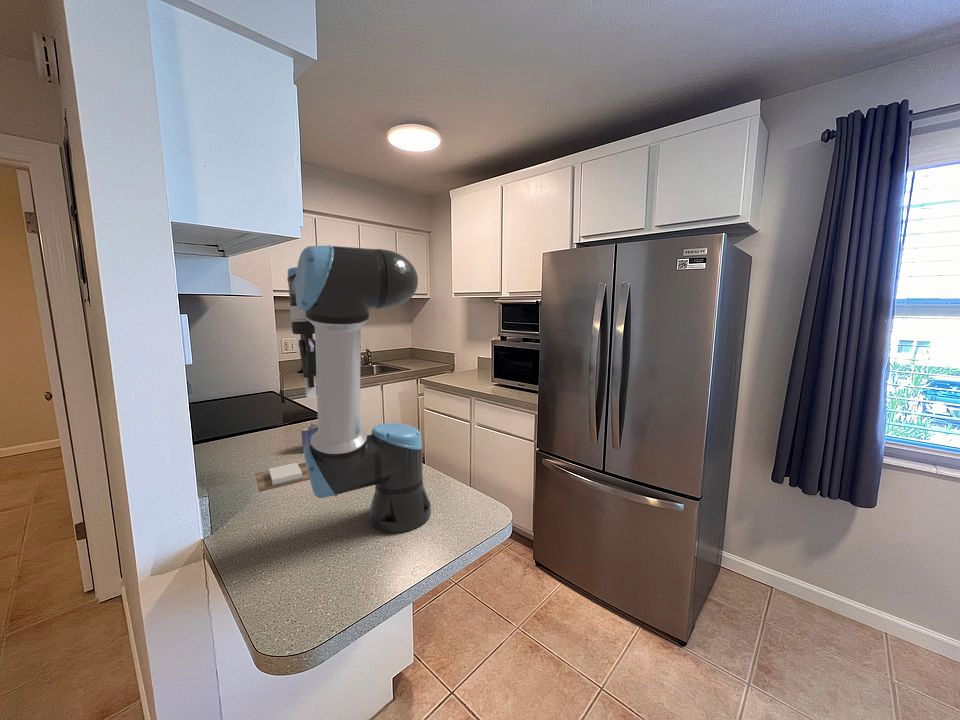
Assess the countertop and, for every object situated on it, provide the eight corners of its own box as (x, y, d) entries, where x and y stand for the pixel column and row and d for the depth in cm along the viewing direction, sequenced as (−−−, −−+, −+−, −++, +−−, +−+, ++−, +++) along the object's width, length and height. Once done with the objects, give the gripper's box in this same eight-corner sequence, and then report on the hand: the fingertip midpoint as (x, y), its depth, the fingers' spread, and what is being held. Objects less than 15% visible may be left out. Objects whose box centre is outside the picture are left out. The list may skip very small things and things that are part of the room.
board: (316, 479, 117) (316, 477, 117) (259, 493, 108) (259, 491, 108) (307, 463, 128) (307, 462, 128) (255, 475, 120) (255, 473, 120)
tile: (297, 467, 124) (302, 478, 116) (269, 474, 119) (272, 485, 112) (297, 462, 123) (302, 472, 116) (268, 468, 119) (272, 479, 112)
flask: (305, 455, 135) (303, 426, 134) (300, 453, 137) (298, 424, 135) (328, 447, 143) (326, 419, 141) (323, 445, 144) (321, 418, 143)
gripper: (323, 320, 113) (329, 399, 116) (313, 319, 123) (318, 392, 126) (296, 321, 108) (302, 403, 111) (287, 320, 119) (294, 395, 122)
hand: (311, 397), depth 119 cm, fingers closed
